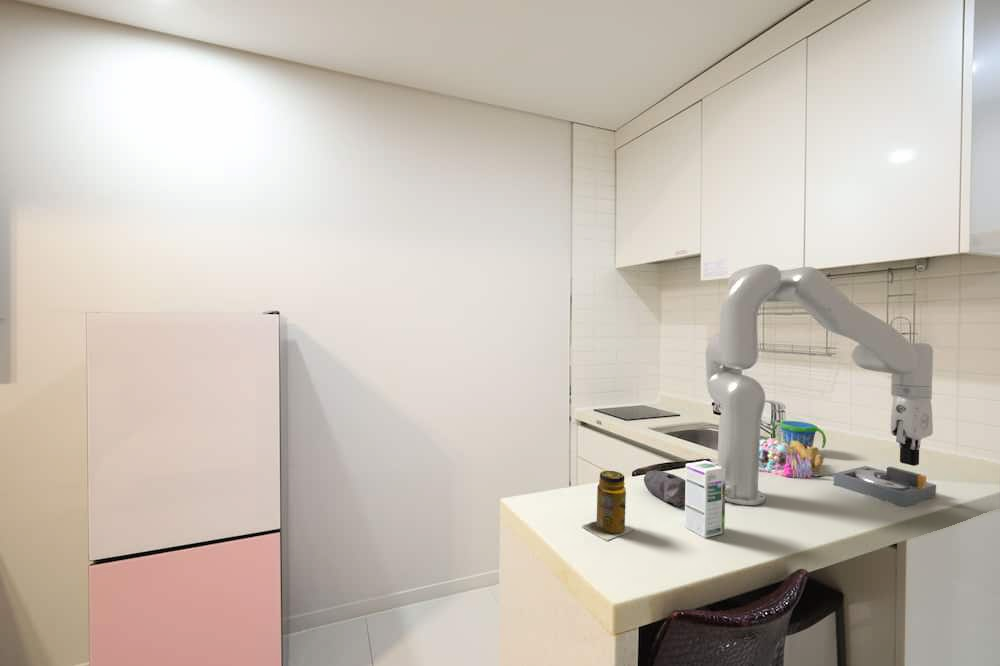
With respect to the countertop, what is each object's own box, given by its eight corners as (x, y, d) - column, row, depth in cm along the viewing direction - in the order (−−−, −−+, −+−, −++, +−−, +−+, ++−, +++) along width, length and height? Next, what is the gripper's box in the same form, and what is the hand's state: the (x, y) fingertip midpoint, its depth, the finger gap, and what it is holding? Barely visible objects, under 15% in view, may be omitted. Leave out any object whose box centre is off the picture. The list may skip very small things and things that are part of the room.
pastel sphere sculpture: (794, 456, 152) (795, 429, 152) (840, 481, 129) (841, 450, 128) (718, 453, 155) (719, 426, 154) (749, 477, 131) (750, 446, 131)
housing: (904, 506, 111) (905, 493, 111) (833, 484, 126) (834, 472, 126) (935, 496, 118) (936, 484, 118) (864, 476, 132) (865, 465, 132)
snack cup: (766, 450, 158) (767, 421, 157) (778, 445, 164) (779, 417, 164) (818, 462, 146) (820, 431, 145) (829, 456, 152) (830, 426, 152)
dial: (845, 479, 125) (846, 461, 124) (869, 473, 130) (870, 456, 130) (911, 499, 111) (912, 479, 111) (935, 491, 117) (936, 473, 116)
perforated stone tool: (637, 489, 120) (637, 464, 119) (652, 487, 122) (653, 462, 121) (678, 513, 106) (679, 484, 106) (695, 509, 108) (696, 481, 108)
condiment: (633, 530, 97) (635, 476, 96) (606, 541, 92) (608, 484, 91) (607, 517, 103) (608, 466, 102) (581, 527, 98) (582, 473, 97)
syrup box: (705, 539, 93) (707, 470, 93) (683, 526, 99) (685, 462, 98) (724, 534, 96) (727, 467, 95) (702, 522, 101) (704, 459, 100)
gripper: (915, 396, 105) (913, 473, 106) (945, 391, 112) (943, 463, 113) (877, 391, 112) (875, 463, 113) (907, 387, 119) (905, 455, 119)
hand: (909, 463), depth 113 cm, fingers closed
